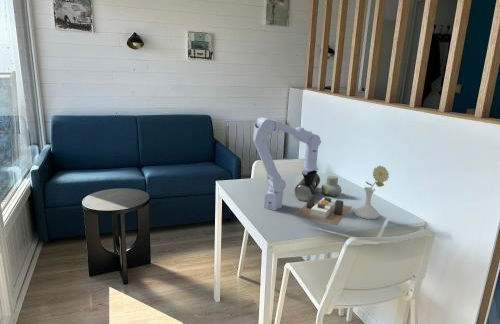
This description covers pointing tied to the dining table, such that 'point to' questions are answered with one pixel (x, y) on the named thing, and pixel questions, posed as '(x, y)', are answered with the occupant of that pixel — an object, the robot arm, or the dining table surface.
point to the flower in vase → (367, 209)
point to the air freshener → (331, 186)
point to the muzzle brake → (306, 188)
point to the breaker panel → (330, 217)
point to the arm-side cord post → (310, 201)
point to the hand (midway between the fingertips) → (308, 185)
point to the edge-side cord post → (338, 207)
